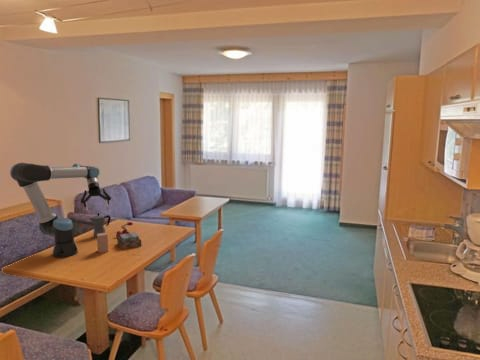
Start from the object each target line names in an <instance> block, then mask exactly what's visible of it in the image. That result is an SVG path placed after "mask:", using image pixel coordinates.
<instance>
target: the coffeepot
mask: <svg viewBox="0 0 480 360" xmlns="http://www.w3.org/2000/svg"><path fill="white" fill-rule="evenodd" d="M105 219H107V224H105V221H106V220H105ZM89 220H90V221H91V222H92V224H93V226H94V229H93V237H94V238H97V234H99V233H107V232H106V229H105V227H107V226H110V221H111V216H110V215H101V214H100V213H99V212H97V215H95V216H92V217H91V216H90V217H89ZM104 225H105V226H104Z"/></svg>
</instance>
